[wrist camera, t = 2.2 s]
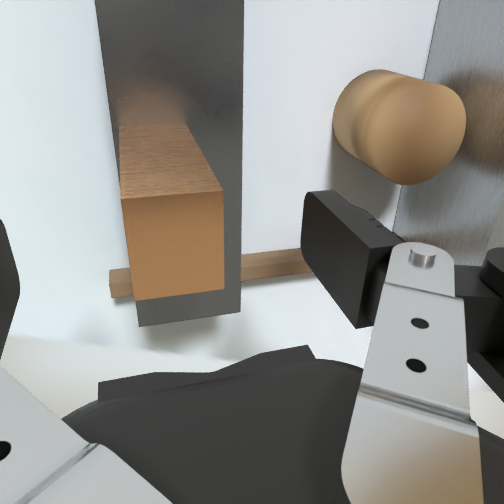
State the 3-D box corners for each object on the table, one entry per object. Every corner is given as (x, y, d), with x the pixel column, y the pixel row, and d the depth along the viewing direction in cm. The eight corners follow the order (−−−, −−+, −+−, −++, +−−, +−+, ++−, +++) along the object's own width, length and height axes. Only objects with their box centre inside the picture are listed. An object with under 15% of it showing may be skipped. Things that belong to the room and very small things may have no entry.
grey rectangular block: (513, -43, 23) (672, -59, 17) (442, 225, 31) (530, 287, 25) (449, -47, 22) (590, -65, 16) (392, 231, 30) (470, 296, 24)
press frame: (522, -77, 23) (546, -82, 21) (437, 243, 32) (450, 253, 31) (45, -117, 17) (40, -126, 16) (111, 284, 27) (111, 298, 25)
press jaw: (211, -62, 19) (335, -138, 8) (217, 254, 27) (285, 424, 16) (91, -69, 18) (54, -169, 7) (134, 263, 26) (148, 454, 15)
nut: (417, 69, 25) (477, 83, 21) (400, 154, 28) (451, 181, 23) (337, 70, 24) (384, 85, 20) (327, 158, 26) (367, 188, 22)
